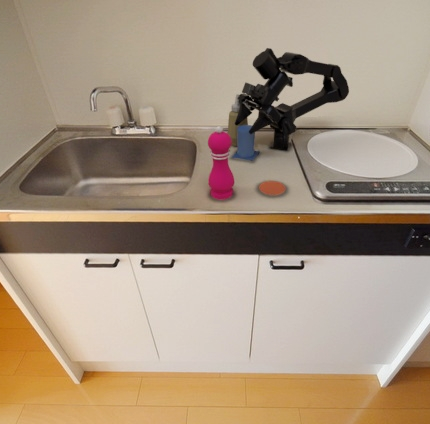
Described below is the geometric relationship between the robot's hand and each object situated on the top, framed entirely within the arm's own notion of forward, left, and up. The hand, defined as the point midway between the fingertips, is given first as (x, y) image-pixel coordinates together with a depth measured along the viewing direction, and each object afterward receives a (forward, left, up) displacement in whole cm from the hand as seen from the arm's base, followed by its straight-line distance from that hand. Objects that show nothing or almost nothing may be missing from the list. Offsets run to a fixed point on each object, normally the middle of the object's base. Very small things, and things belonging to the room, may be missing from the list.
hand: (242, 128), depth 94 cm
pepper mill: (+25, +3, -10) cm, 27 cm away
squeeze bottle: (-10, -6, -10) cm, 16 cm away
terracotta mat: (+17, +16, -10) cm, 25 cm away
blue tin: (-1, +1, -9) cm, 10 cm away
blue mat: (-1, +1, -10) cm, 10 cm away
